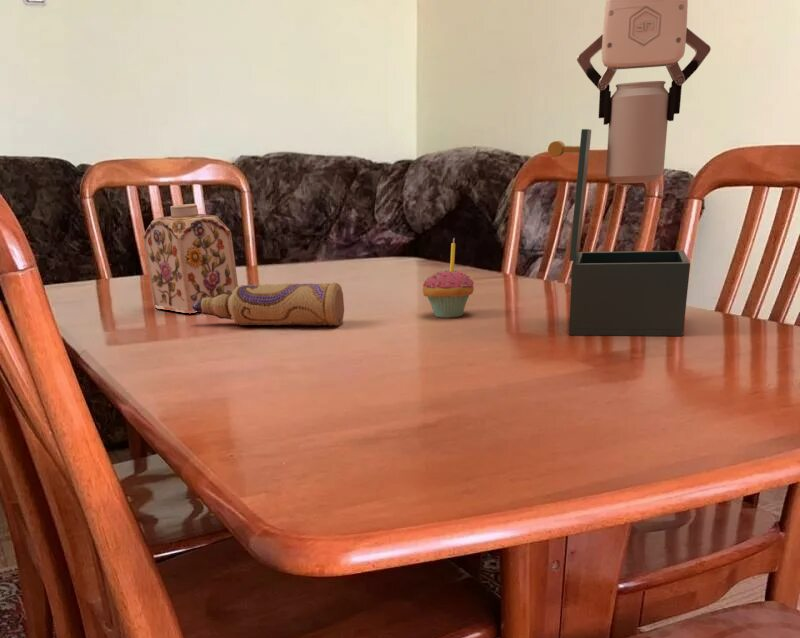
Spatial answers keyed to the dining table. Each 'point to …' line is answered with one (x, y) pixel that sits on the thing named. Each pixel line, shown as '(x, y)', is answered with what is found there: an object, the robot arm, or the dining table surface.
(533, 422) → the dining table surface
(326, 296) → the decorative bottle
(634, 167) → the can
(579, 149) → the lid
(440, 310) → the cupcake
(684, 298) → the chest
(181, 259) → the decorative jar
